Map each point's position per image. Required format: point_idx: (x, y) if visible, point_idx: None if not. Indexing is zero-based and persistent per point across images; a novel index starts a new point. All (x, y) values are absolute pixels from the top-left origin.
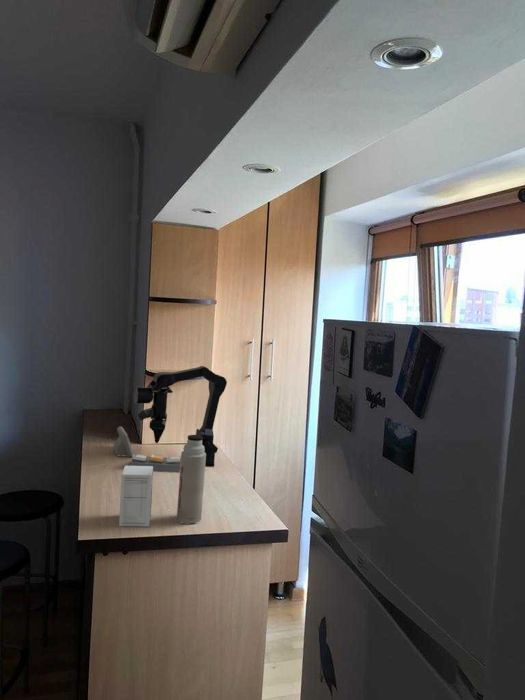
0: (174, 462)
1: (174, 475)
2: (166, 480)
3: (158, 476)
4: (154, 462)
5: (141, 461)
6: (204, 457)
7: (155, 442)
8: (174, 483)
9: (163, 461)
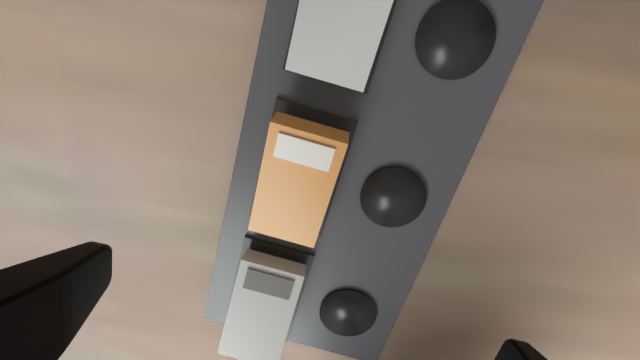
0: None
1: (165, 243)
2: (61, 175)
3: (138, 139)
4: None
5: None
6: None
7: (81, 247)
8: (13, 211)
9: None
